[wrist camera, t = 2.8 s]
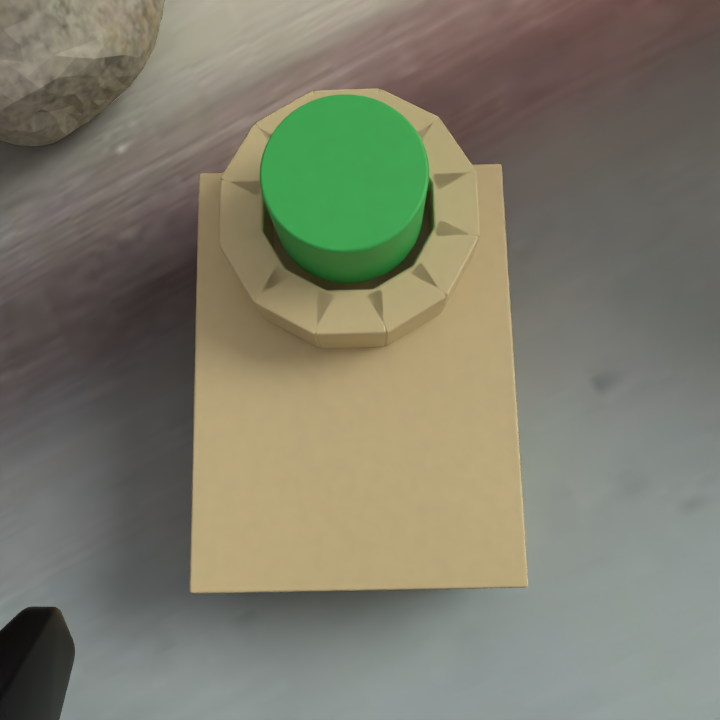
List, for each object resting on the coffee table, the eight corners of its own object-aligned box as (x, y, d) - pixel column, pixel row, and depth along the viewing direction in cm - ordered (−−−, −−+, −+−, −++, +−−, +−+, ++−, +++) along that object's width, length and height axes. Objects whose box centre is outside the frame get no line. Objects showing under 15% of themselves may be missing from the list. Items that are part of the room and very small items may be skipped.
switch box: (500, 568, 22) (545, 599, 16) (224, 573, 22) (168, 606, 16) (478, 179, 24) (510, 82, 18) (229, 187, 25) (182, 93, 19)
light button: (425, 282, 18) (433, 249, 15) (275, 286, 18) (258, 254, 16) (419, 142, 19) (426, 89, 16) (275, 147, 19) (259, 95, 16)
